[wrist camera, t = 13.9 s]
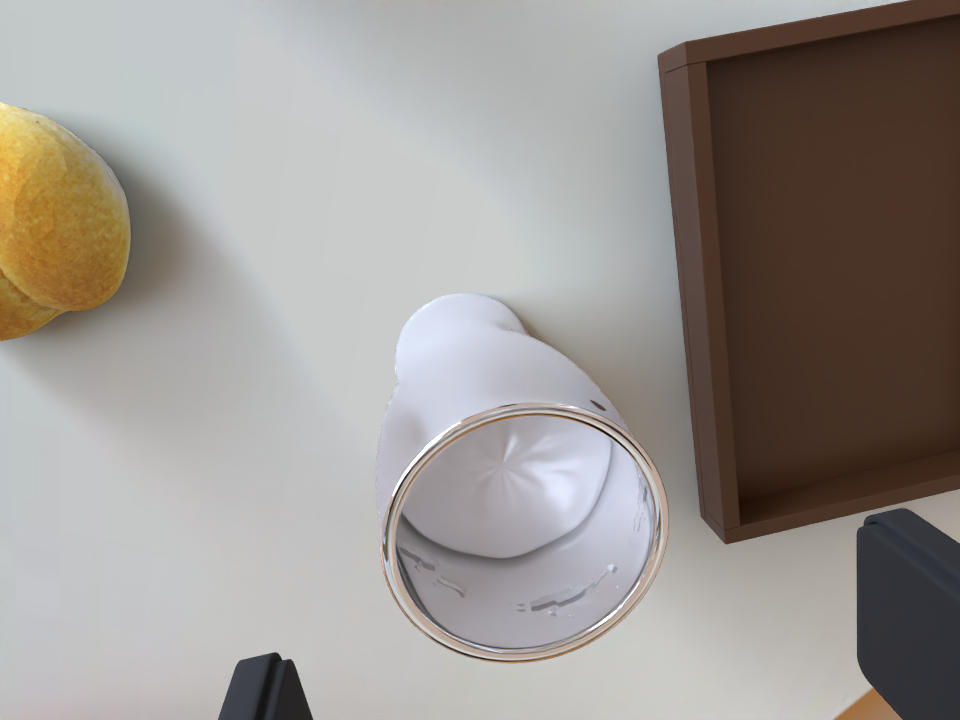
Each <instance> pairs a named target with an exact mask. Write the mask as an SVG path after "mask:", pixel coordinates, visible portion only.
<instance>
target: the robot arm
mask: <svg viewBox="0 0 960 720" xmlns="http://www.w3.org/2000/svg"><path fill="white" fill-rule="evenodd" d="M857 658H858V663H859V666H860V668H861V671H862V673H863V674H864V676H865V678H866V679H867V680H868V682H869V683H870V684H871V685H872V686H873V687H874V688H875V689H876V691H877V692H878V693H879V694H880V695H881V696H882V697H883V698H884V700H885V701H886V702H887V703H888V704H889V705H890V706H891V707H892V708H893V710H894V711H896V713H897V714H898V715H899V716H900V717H901V718H902V719H903V720H960V544H959V543H958V542H956V541H955V540H953V539H952V538H951V537H949V536H948V535H946V534H945V533H943V532H942V531H940V530H939V529H937V528H936V527H934V526H933V525H931V524H930V523H928V522H927V521H925V520H924V519H922V518H921V517H920V516H918V515H917V514H915V513H914V512H912V511H910V510H908V509H905V508H899V509H895V510H891V511H886V512H882V513H878V514H873V515H870V516H868V517H866V519H865V521H864V526H863V527H860V528H859V529H858V531H857ZM218 720H313V718H312V715H311V712H310V709H309V706H308V703H307V700H306V697H305V694H304V691H303V688H302V685H301V682H300V679H299V676H298V673H297V670H296V667H295V665H294V663H293V661H292V660H291V659H288V660H283V661H282V659H281V656H280V655H279V654H278V653H275V652H274V653H270V654H266V655H261V656H257V657H253V658H248V659H244V660H241V661H239V662H238V664H237V666H236V668H235V671H234V674H233V677H232V680H231V683H230V686H229V688H228V691H227V694H226V697H225V700H224V703H223V706H222V709H221V712H220V715H219V718H218Z"/></svg>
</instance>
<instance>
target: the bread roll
mask: <svg viewBox="0 0 960 720" xmlns="http://www.w3.org/2000/svg"><path fill="white" fill-rule="evenodd" d="M130 243H131V231H130V216H129V208H128V203H127V199H126V196H125V193H124V191H123V189H122V187H121V185H120V182H119V180H118V179H117V177H116V175H115V173H114V172H113V170H112V169H111V168H110V167H109V165H108V164H107V163H106V162H105V161H104V160H103V158H102V157H101V156H100V155H99V154H98V153H97V152H96V151H94V150H93V149H92V148H91V147H90V146H88V145H87V144H86V143H85V142H83V141H82V140H80V139H79V138H78V137H77V136H76V135H74V134H73V133H72V132H70V131H69V130H67V129H66V128H64V127H62V126H61V125H59V124H57V123H55V122H54V121H52V120H51V119H50V118H47V117H45V116H42V115H40V114H37V113H35V112H32V111H30V110H27V109H24V108H18V107H14V106H10V105H7V104H3V103H0V341H3V340H8V339H14V338H19V337H21V336H24V335H26V334H29V333H31V332H34V331H36V330H37V329H39V328H41V327H42V326H44V325H46V324H47V323H48V322H49V321H51V320H52V319H54V318H55V317H56V316H58V315H60V314H62V313H65V312H67V311H85V310H90V309H93V308H96V307H98V306H100V305H101V304H103V303H105V302H106V301H107V300H108V299H110V298H111V297H112V296H113V295H114V294H115V293H116V292H117V290H118V289H119V287H120V285H121V283H122V281H123V278H124V275H125V273H126V268H127V264H128V258H129V252H130Z"/></svg>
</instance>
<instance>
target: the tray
mask: <svg viewBox="0 0 960 720" xmlns="http://www.w3.org/2000/svg"><path fill="white" fill-rule="evenodd" d="M658 65H659V76H660V86H661V97H662V108H663V118H664V129H665V140H666V150H667V161H668V172H669V182H670V193H671V203H672V214H673V225H674V235H675V246H676V257H677V267H678V278H679V289H680V299H681V310H682V321H683V331H684V342H685V352H686V363H687V374H688V384H689V395H690V406H691V416H692V427H693V438H694V448H695V459H696V469H697V480H698V491H699V501H700V512H701V517H702V519H703V520H704V521H705V522H706V523H707V524H708V525H709V527H710V528H711V529H712V530H713V531H714V532H715V533H716V534H717V536H718V537H719V538H720V539H721V540H722V541H723V542H724V543H725V544H731V543H735V542H739V541H743V540H747V539H752V538H756V537H760V536H764V535H768V534H773V533H777V532H781V531H785V530H789V529H793V528H798V527H802V526H806V525H810V524H814V523H819V522H823V521H827V520H831V519H835V518H839V517H844V516H848V515H852V514H856V513H860V512H865V511H869V510H873V509H877V508H881V507H885V506H890V505H894V504H898V503H902V502H906V501H911V500H915V499H919V498H923V497H927V496H932V495H936V494H940V493H944V492H948V491H952V490H957V489H960V0H909V1H903V2H898V3H892V4H887V5H882V6H876V7H871V8H865V9H860V10H854V11H849V12H844V13H838V14H833V15H827V16H822V17H817V18H811V19H806V20H800V21H795V22H790V23H784V24H779V25H773V26H768V27H762V28H757V29H752V30H746V31H741V32H735V33H730V34H725V35H719V36H714V37H708V38H703V39H698V40H692V41H687V42H683V43H681V44H679V45H677V46H675V47H673V48H671V49H669V50H666V51H664V52H662V53H660V54H659V55H658Z"/></svg>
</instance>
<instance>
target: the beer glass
mask: <svg viewBox="0 0 960 720" xmlns="http://www.w3.org/2000/svg"><path fill="white" fill-rule="evenodd" d="M395 371H396V377H397V380H398V383H397V385H396V387H395V389H394V391H393V393H392V396H391V398H390V400H389V403H388V405H387V408H386V410H385V413H384V416H383V420H382V424H381V429H380V435H379V441H378V448H377V456H376V495H377V507H378V518H379V526H380V556H381V563H382V568H383V573H384V576H385V579H386V582H387V585H388V587H389V590H390V592H391V594H392V596H393V598H394V600H395V602H396V603H397V605H398V606H399V608H400V609H401V611H402V612H403V613H404V615H405V616H406V617H407V618H408V620H409V621H410V622H411V623H412V624H413V625H414V626H415V627H416V628H417V629H418V630H419V631H421V632H422V633H423V634H424V635H426V636H427V637H428V638H430V639H431V640H433V641H434V642H436V643H438V644H439V645H441V646H443V647H445V648H447V649H449V650H451V651H453V652H456V653H458V654H461V655H464V656H467V657H470V658H474V659H478V660H482V661H488V662H496V663H527V662H535V661H541V660H546V659H550V658H554V657H558V656H561V655H564V654H567V653H570V652H572V651H575V650H577V649H579V648H581V647H584V646H586V645H588V644H589V643H591V642H593V641H595V640H597V639H598V638H600V637H601V636H603V635H604V634H606V633H607V632H609V631H610V630H611V629H613V628H614V627H615V626H616V625H618V624H619V623H620V622H621V621H622V620H623V619H624V618H625V617H626V616H627V615H628V614H629V613H630V612H631V611H632V610H633V609H634V608H635V607H636V605H637V604H638V603H639V602H640V601H641V599H642V598H643V597H644V595H645V594H646V592H647V591H648V589H649V587H650V586H651V584H652V582H653V580H654V578H655V577H656V574H657V572H658V570H659V568H660V565H661V562H662V559H663V556H664V553H665V549H666V545H667V539H668V531H669V510H668V502H667V496H666V493H665V489H664V485H663V483H662V480H661V477H660V475H659V473H658V470H657V468H656V467H655V465H654V463H653V461H652V460H651V458H650V457H649V455H648V454H647V452H646V451H645V450H644V448H643V447H642V446H641V445H640V444H639V443H638V442H637V441H636V439H635V438H634V436H633V434H632V433H631V431H630V430H629V428H628V426H627V425H626V423H625V422H624V420H623V419H622V417H621V416H620V415H619V413H618V412H617V410H616V409H615V407H614V406H613V405H612V403H611V402H610V401H609V399H608V398H607V397H606V396H605V395H604V393H603V392H602V391H601V390H600V389H599V387H598V386H597V385H596V384H595V383H594V381H593V380H592V379H591V378H590V377H589V376H588V375H587V374H586V373H585V372H583V371H582V370H581V369H580V368H579V367H578V366H577V365H576V364H574V363H573V362H572V361H571V360H570V359H569V358H568V357H566V356H565V355H564V354H562V353H561V352H559V351H558V350H556V349H554V348H552V347H551V346H549V345H547V344H545V343H543V342H541V341H539V340H537V339H535V338H533V337H531V336H528V333H527V331H526V329H525V327H524V326H523V324H522V322H521V321H520V320H519V318H518V317H517V316H516V315H515V314H514V312H512V311H511V310H510V309H509V308H508V307H507V306H505V305H504V304H503V303H501V302H499V301H498V300H496V299H493V298H491V297H488V296H485V295H481V294H476V293H453V294H448V295H444V296H441V297H439V298H436V299H434V300H432V301H430V302H428V303H427V304H425V305H424V306H422V307H421V308H420V309H419V310H417V311H416V312H415V313H414V314H413V315H412V317H411V318H410V319H409V320H408V322H407V323H406V324H405V326H404V328H403V329H402V331H401V333H400V336H399V338H398V341H397V345H396V350H395Z"/></svg>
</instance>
